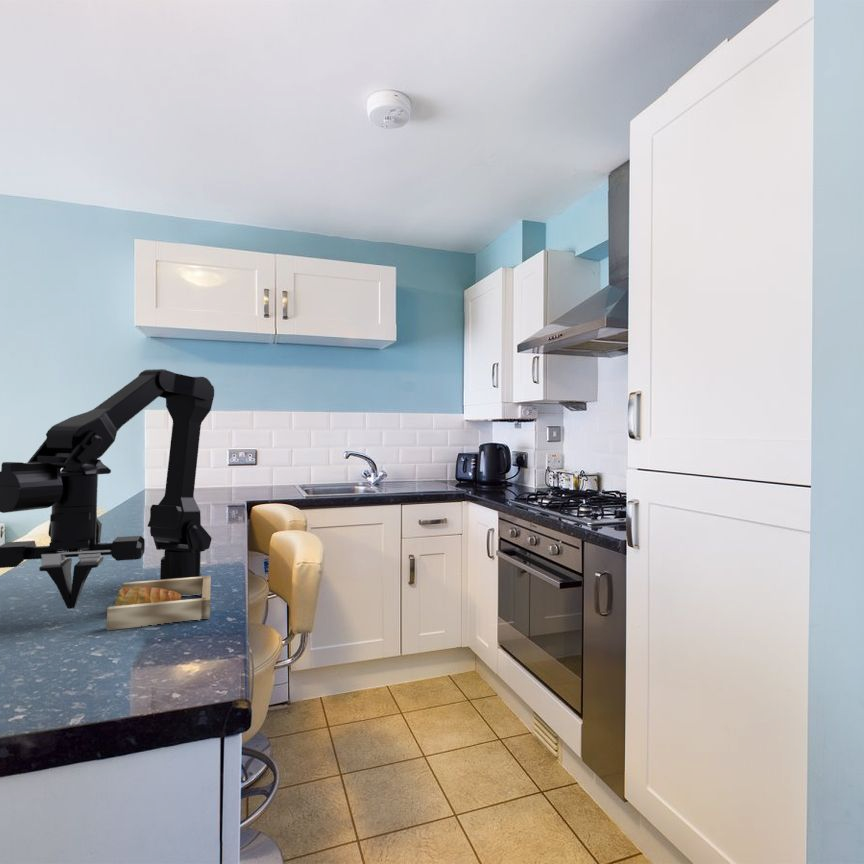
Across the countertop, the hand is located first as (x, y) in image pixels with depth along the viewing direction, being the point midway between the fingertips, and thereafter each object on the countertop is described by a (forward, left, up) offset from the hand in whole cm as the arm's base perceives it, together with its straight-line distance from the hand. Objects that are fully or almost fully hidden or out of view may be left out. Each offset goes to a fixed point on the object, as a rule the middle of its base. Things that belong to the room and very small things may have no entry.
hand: (71, 607), depth 80 cm
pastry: (-10, -2, -2) cm, 10 cm away
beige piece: (-12, 0, -2) cm, 13 cm away
